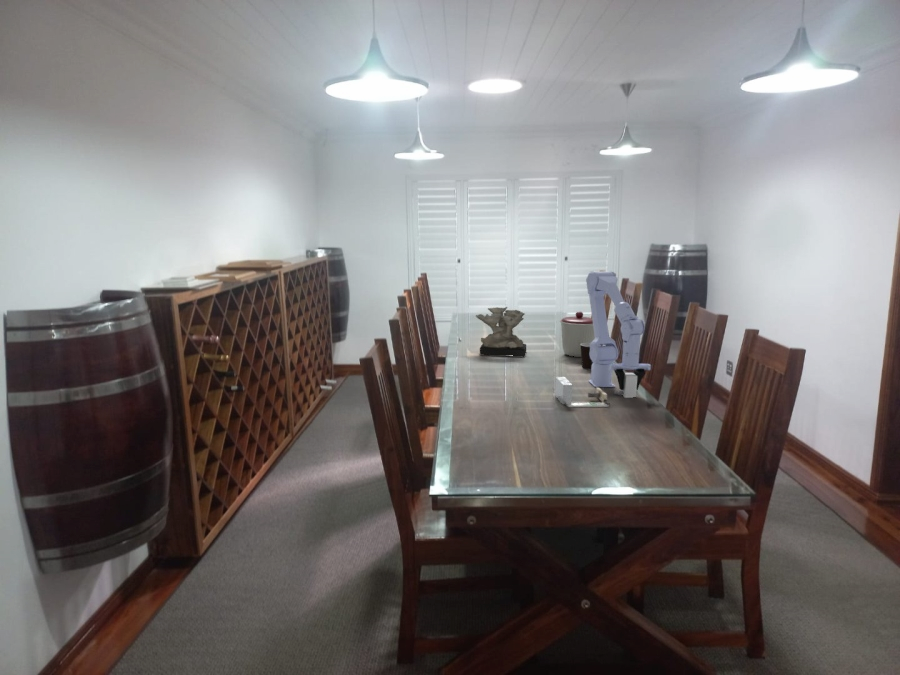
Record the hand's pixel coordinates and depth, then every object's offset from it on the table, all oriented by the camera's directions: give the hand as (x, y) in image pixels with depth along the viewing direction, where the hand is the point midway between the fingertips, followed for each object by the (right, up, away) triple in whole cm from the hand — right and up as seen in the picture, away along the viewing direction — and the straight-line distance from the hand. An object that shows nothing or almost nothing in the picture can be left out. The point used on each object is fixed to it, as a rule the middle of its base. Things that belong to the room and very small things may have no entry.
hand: (628, 389), depth 214 cm
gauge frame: (-19, -4, -7) cm, 20 cm away
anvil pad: (-13, -4, -7) cm, 16 cm away
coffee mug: (-2, +6, +45) cm, 45 cm away
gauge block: (-1, -2, 0) cm, 3 cm away
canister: (-4, +10, +69) cm, 70 cm away
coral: (-40, +11, +75) cm, 86 cm away
